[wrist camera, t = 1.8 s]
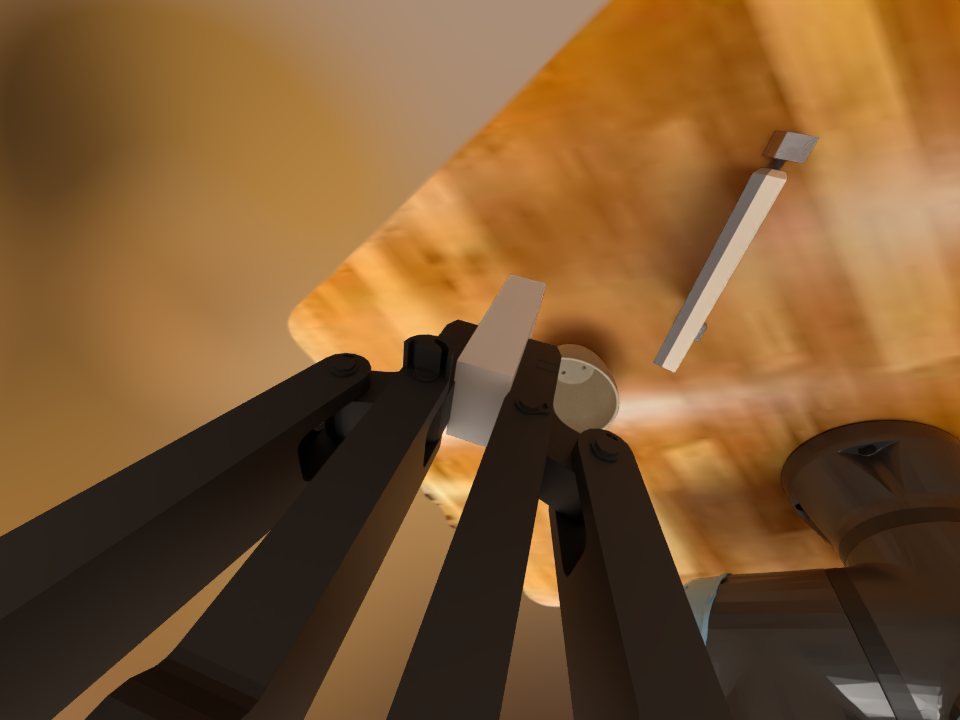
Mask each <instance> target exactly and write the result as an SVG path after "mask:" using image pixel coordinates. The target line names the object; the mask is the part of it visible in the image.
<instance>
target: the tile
mask: <svg viewBox="0 0 960 720" xmlns="http://www.w3.org/2000/svg"><path fill="white" fill-rule="evenodd" d="M786 180H787V176H786V172H784V171H779V170H774V169H769V168H764V167H763V168H761V169H759V170H757V171H755V172H753V174H752V176H751V178H750V179H749V181H748V183H747V185H746V187H745V189H744V191H743V193H742V195H741V197H740V198H739V200H738V202H737V204H736V206H735V208H734V210H733V212H732V214H731V216H730V217H729V219H728V221H727V223H726V225H725V227H724V229H723V231H722V233H721V235H720V236H719V238H718V240H717V242H716V244H715V246H714V248H713V250H712V252H711V254H710V255H709V257H708V259H707V261H706V263H705V265H704V267H703V269H702V271H701V273H700V274H699V276H698V278H697V280H696V282H695V284H694V286H693V288H692V290H691V292H690V293H689V295H688V297H687V299H686V301H685V303H684V305H683V307H682V309H681V310H680V312H679V314H678V316H677V318H676V320H675V322H674V324H673V326H672V328H671V329H670V331H669V333H668V335H667V337H666V339H665V341H664V343H663V345H662V347H661V348H660V350H659V352H658V354H657V356H656V358H655V360H654V362H653V363H655V364H657V365H659V366H661V367H663V368H666V369H668V370H670V371H672V372H674V373H675V372H676V370H677V368H678V367H679V365H680V363H681V361H682V360H683V358H684V356H685V355H686V353H687V351H688V349H689V348H690V346H691V344H692V343H693V341H694V339H695V337H696V336H697V334H698V332H699V330H700V329H701V327H702V325H703V324H704V322H705V320H706V318H707V317H708V315H709V313H710V311H711V310H712V308H713V306H714V305H715V303H716V301H717V299H718V298H719V296H720V294H721V292H722V291H723V289H724V287H725V286H726V284H727V282H728V280H729V279H730V277H731V275H732V274H733V272H734V270H735V268H736V267H737V265H738V263H739V261H740V260H741V258H742V256H743V255H744V253H745V251H746V249H747V248H748V246H749V244H750V242H751V241H752V239H753V237H754V236H755V234H756V232H757V230H758V229H759V227H760V225H761V223H762V222H763V220H764V218H765V217H766V215H767V213H768V211H769V210H770V208H771V206H772V204H773V203H774V201H775V199H776V198H777V196H778V194H779V192H780V191H781V189H782V187H783V186H784V184H785V182H786Z"/></svg>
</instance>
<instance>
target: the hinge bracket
mask: <svg viewBox="0 0 960 720" xmlns="http://www.w3.org/2000/svg"><path fill="white" fill-rule="evenodd" d="M818 139H819V137H815V136H809V135H804V134H799V133H793V132H787V131H775V132H774V134H773V136H772V137H771V139H770V141H769V143H768V145H767V147H766V149H765V151H764V153H763V155H764V156H769V157H773V158H775V159H774V161H773V163H772V165H771V167H770V168H769V169H774V170H779V171H780V170H781V168H782V166H783V164H784V162H785V161H786V160H789V161H794V162H799V163H804V162H805V161H806V159H807V157H808V156H809V154H810V152H811V150H812V149H813V147H814V145H815V144H816V142H817V140H818ZM706 328H707V325H706V323H705V322H704V324H703V325H702V327H701V329H700V330H699V332H698V334H697V336H696V337H695V339H694V340H695V341H699V340H700V339H701V337H702V335H703V333H704V332H705V330H706Z"/></svg>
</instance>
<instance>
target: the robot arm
mask: <svg viewBox="0 0 960 720" xmlns="http://www.w3.org/2000/svg"><path fill="white" fill-rule="evenodd" d="M546 284H547V283H543V282H539V281H535V280H531V279H527V278H524V277H520V276H516V275H512V274H510V275H509V277H508V278H507V280H506V282H505V283H504V285H503V286H502V288H501V290H500V291H499V293H498V295H497V296H496V298H495V299H494V301H493V303H492V304H491V306H490V308H489V309H488V311H487V313H486V314H485V316H484V317H483V319H482V321H481V322H480V324H479V325H475V324H472V323H468V322H465V321H461V320H456V321H454V322H452V323H450V324H447V325H446V327H445V328H444V329H443V331H442V332H441V334H440V335H439V336H433V335H416V336H413V337H410V338H408V339H407V340H406V341H404V357H403V368H402V369H401V370H400V371H399V372H381V371H371V366H370V363H369V361H368V360H366V359H365V358H364V357H362V356H359V355H356V354H350V353H342V354H335V355H332V356H330V357H327V358H325V359H323V360H321V361H319V362H318V363H316V364H314V365H312V366H310V367H308V368H307V369H305V370H303V371H301V372H299V373H298V374H296V375H294V376H292V377H291V378H288V379H287V380H285V381H283V382H281V383H279V384H278V385H276V386H274V387H272V388H270V389H268V390H267V391H265V392H263V393H261V394H259V395H258V396H256V397H254V398H252V399H250V400H248V401H247V402H245V403H243V404H241V405H240V406H238V407H236V408H234V409H232V410H230V411H228V412H227V413H225V414H223V415H221V416H219V417H217V418H216V419H214V420H212V421H210V422H208V423H207V424H205V425H203V426H201V427H199V428H198V429H196V430H194V431H192V432H190V433H188V434H187V435H185V436H183V437H181V438H179V439H177V440H176V441H174V442H172V443H170V444H168V445H167V446H165V447H163V448H161V449H159V450H157V451H156V452H154V453H152V454H150V455H148V456H146V457H145V458H143V459H141V460H139V461H137V462H136V463H134V464H132V465H130V466H129V467H127V468H125V469H123V470H121V471H119V472H118V473H116V474H114V475H112V476H110V477H108V478H107V479H105V480H103V481H101V482H99V483H97V484H96V485H94V486H92V487H90V488H89V489H86V490H85V491H83V492H81V493H79V494H77V495H76V496H74V497H72V498H70V499H68V500H66V501H65V502H63V503H61V504H59V505H58V506H55V507H54V508H52V509H50V510H48V511H46V512H45V513H43V514H41V515H39V516H37V517H35V518H34V519H32V520H30V521H28V522H26V523H25V524H23V525H21V526H19V527H18V528H15V529H14V530H12V531H10V532H8V533H6V534H5V535H3V536H1V537H0V720H51V719H53V718H54V717H55V716H56V715H57V714H58V713H59V712H60V711H62V710H63V709H64V708H65V707H67V706H68V705H69V704H70V703H71V702H72V701H73V700H75V699H76V698H77V697H78V696H79V695H80V694H81V693H83V692H84V691H85V690H86V689H87V688H88V687H90V686H91V685H92V684H93V683H94V682H95V681H97V680H98V679H99V678H100V677H101V676H102V675H103V674H105V673H106V672H107V671H108V670H109V669H110V668H112V667H113V666H114V665H115V664H116V663H117V662H119V661H120V660H121V659H122V658H123V657H124V656H126V655H127V654H128V653H129V652H130V651H131V650H132V649H134V648H135V647H136V646H137V645H138V644H139V643H141V642H142V641H143V640H144V639H145V638H146V637H148V636H149V635H150V634H151V633H152V632H153V631H154V630H156V629H157V628H158V627H159V626H160V625H161V624H162V623H164V622H165V621H166V620H167V619H168V618H170V617H171V615H173V614H174V613H175V612H176V611H178V610H179V609H180V608H181V607H182V606H183V605H185V604H186V603H187V602H188V601H189V600H190V599H191V598H193V597H194V596H195V595H196V594H197V593H198V592H200V591H201V590H202V589H203V588H204V587H205V586H206V585H208V584H209V583H210V582H211V581H212V580H213V579H215V578H216V577H217V576H218V575H219V574H220V573H221V572H223V571H224V570H225V569H226V568H227V567H229V566H230V565H231V564H232V563H233V562H234V561H235V560H237V559H238V558H239V557H240V556H241V555H242V554H243V553H245V552H246V551H247V550H248V549H249V548H251V547H252V546H253V545H254V544H255V543H256V542H257V541H259V540H260V539H261V538H262V537H263V536H264V535H265V534H267V533H268V532H269V531H270V530H271V531H270V532H269V533H268V534H267V536H266V537H265V538H264V539H263V540H262V542H261V543H260V544H259V545H258V547H257V548H256V549H255V550H254V552H253V553H252V554H251V555H250V557H249V558H248V559H247V560H246V561H245V563H244V564H243V565H242V566H241V568H240V569H239V570H238V571H237V573H236V574H235V575H234V577H232V579H231V580H230V581H229V583H228V584H227V585H226V586H225V587H224V589H223V590H222V591H221V592H220V594H219V595H218V596H217V597H216V599H215V600H214V601H213V602H212V603H211V605H210V606H209V607H208V608H207V610H206V611H205V612H204V613H203V615H202V616H201V617H200V618H199V619H198V621H197V622H196V623H195V625H194V626H193V627H192V628H191V629H190V631H189V632H188V633H187V634H186V636H185V637H184V638H183V639H182V641H181V642H180V643H179V644H178V645H177V647H176V648H175V649H174V650H173V651H172V652H171V653H170V654H169V655H168V656H167V657H166V658H165V659H164V660H163V661H161V662H160V663H159V664H158V665H156V666H155V667H153V668H151V669H148V670H146V671H144V672H142V673H140V674H138V675H136V676H134V677H132V678H129V679H128V680H127V681H126V682H124V683H123V684H122V685H121V686H119V687H118V688H117V689H116V690H114V691H113V692H112V693H110V694H109V695H108V696H107V697H106V698H105V699H104V700H103V701H102V702H101V703H100V704H99V705H98V706H97V707H96V708H95V709H94V710H93V711H92V712H91V713H90V714H89V715H88V717H87V718H86V719H85V720H304V718H305V716H306V714H307V712H308V710H309V708H310V706H311V704H312V702H313V700H314V698H315V696H316V693H317V692H318V690H319V688H320V686H321V684H322V682H323V680H324V678H325V676H326V674H327V672H328V670H329V668H330V666H331V664H332V662H333V660H334V658H335V656H336V654H337V652H338V650H339V648H340V646H341V644H342V642H343V640H344V638H345V636H346V634H347V632H348V630H349V628H350V626H351V624H352V622H353V620H354V618H355V616H356V614H357V612H358V610H359V608H360V606H361V603H362V602H363V600H364V598H365V596H366V594H367V591H368V590H369V588H370V586H371V584H372V581H373V580H374V578H375V575H376V574H377V572H378V570H379V568H380V566H381V564H382V562H383V559H384V557H385V556H386V554H387V552H388V550H389V548H390V546H391V544H392V542H393V540H394V538H395V536H396V533H397V532H398V530H399V528H400V525H401V524H402V522H403V520H404V518H405V516H406V514H407V512H408V510H409V508H410V506H411V504H412V502H413V500H414V498H415V496H416V494H417V492H418V490H419V488H420V486H421V484H422V482H423V480H424V478H425V476H426V474H427V472H428V470H429V468H430V466H431V464H432V462H433V460H434V458H435V456H436V454H437V452H438V450H439V448H440V444H441V438H442V433H443V431H444V429H445V427H446V426H447V431H446V434H448V435H451V436H454V437H457V438H460V439H463V440H466V441H469V442H472V443H475V444H478V445H481V446H484V447H486V449H485V452H484V455H483V457H482V460H481V463H480V466H479V468H478V471H477V474H476V477H475V479H474V482H473V485H472V487H471V490H470V493H469V496H468V498H467V501H466V504H465V506H464V509H463V512H462V515H461V517H460V520H459V523H458V526H457V528H456V531H455V534H454V537H453V540H452V542H451V545H450V547H449V550H448V553H447V555H446V558H445V561H444V564H443V566H442V569H441V572H440V575H439V577H438V580H437V583H436V585H435V588H434V591H433V594H432V596H431V599H430V602H429V605H428V607H427V610H426V613H425V615H424V618H423V621H422V624H421V626H420V629H419V632H418V635H417V637H416V640H415V643H414V645H413V648H412V651H411V653H410V656H409V659H408V662H407V665H406V667H405V670H404V673H403V675H402V678H401V681H400V683H399V687H398V689H397V692H396V695H395V697H394V700H393V703H392V706H391V708H390V711H389V713H388V716H387V719H386V720H499V717H500V712H501V707H502V701H503V695H504V690H505V684H506V679H507V673H508V667H509V662H510V656H511V650H512V645H513V640H514V634H515V628H516V623H517V617H518V612H519V606H520V601H521V594H522V589H523V584H524V578H525V573H526V567H527V562H528V556H529V550H530V545H531V539H532V534H533V528H534V523H535V517H536V511H537V506H538V500H539V499H540V500H542V501H543V502H545V503H546V504H548V505H549V517H550V526H551V534H552V542H553V551H554V559H555V567H556V576H557V584H558V592H559V601H560V609H561V617H562V626H563V633H564V641H565V651H566V659H567V667H568V676H569V684H570V692H571V701H572V709H573V717H574V720H960V440H959V439H957V438H956V437H954V436H953V435H951V434H949V433H947V432H945V431H943V430H940V429H938V428H935V427H932V426H928V425H924V424H919V423H913V422H905V421H873V422H864V423H858V424H853V425H848V426H844V427H840V428H837V429H834V430H831V431H828V432H826V433H823V434H821V435H819V436H817V437H815V438H813V439H811V440H809V441H808V442H806V443H805V444H803V445H802V446H801V447H799V448H798V449H797V450H796V451H795V452H794V453H793V454H792V455H791V456H790V457H789V459H788V460H787V461H786V463H785V465H784V467H783V470H782V475H781V482H782V486H783V489H784V491H785V493H786V495H787V497H788V499H789V501H790V503H791V505H792V507H793V508H794V510H795V511H796V512H797V513H798V515H799V516H800V517H801V518H802V519H804V520H805V521H806V522H807V524H808V525H809V526H810V527H811V528H812V529H813V530H814V531H815V532H817V533H818V534H819V535H820V536H821V537H822V538H823V539H824V540H825V541H826V542H827V543H828V544H829V545H830V546H831V547H832V548H833V549H834V550H835V551H836V552H837V553H838V555H839V556H840V558H841V560H842V562H843V564H844V566H845V567H843V568H830V569H811V570H797V571H784V572H770V573H754V574H735V575H733V574H731V573H724V574H722V575H720V576H716V577H709V578H700V579H694V580H691V581H689V582H687V583H686V584H685V585H684V586H683V585H682V582H681V580H680V577H679V574H678V572H677V569H676V566H675V564H674V561H673V558H672V556H671V553H670V550H669V548H668V545H667V542H666V540H665V537H664V534H663V532H662V529H661V526H660V524H659V521H658V518H657V516H656V513H655V510H654V508H653V505H652V503H651V500H650V497H649V495H648V492H647V489H646V487H645V484H644V481H643V479H642V476H641V473H640V471H639V468H638V465H637V463H636V460H635V457H634V455H633V452H632V451H631V449H630V447H629V446H628V444H627V443H626V442H625V441H624V440H622V439H621V438H620V437H619V436H617V435H615V434H613V433H612V432H610V431H607V430H603V429H599V428H597V429H588V430H585V431H583V432H582V433H579V432H577V431H575V430H574V429H572V428H570V427H569V426H567V425H566V424H564V423H563V422H562V421H561V420H560V419H559V417H558V416H557V414H556V413H555V410H554V407H553V402H554V396H555V391H556V385H557V380H558V374H559V369H560V364H561V358H562V356H561V354H560V351H559V349H558V347H557V346H553V345H550V344H546V343H543V342H539V341H536V340H532V339H531V338H532V334H533V331H534V327H535V324H536V320H537V317H538V313H539V309H540V306H541V302H542V299H543V295H544V291H545V288H546ZM322 422H323V423H322ZM447 424H448V425H447Z"/></svg>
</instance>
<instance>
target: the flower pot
mask: <svg viewBox="0 0 960 720" xmlns="http://www.w3.org/2000/svg"><path fill="white" fill-rule="evenodd" d="M557 347H558V349H559V351H560V354H561V356H562V358H561V364H560V369H559V374H558V380H557V385H556V391H555V396H554V402H553V407H554V410H555V413H556V414H557V416H558V417H559V419H560V420H561V421H562V422H563V423H564V424H566V425H567V426H569V427H570V428H572V429H574V430H575V431H577V432H579V433H582V432H583V431H585V430H588V429H597V428H599V429H603V430H605V429H606V428H607V427H608V426H610V425H611V423H612V422H613V421H614V419H615V418H616V415H617V413H618V410H619V395H618V390H617V387H616V384H615V381H614V379H613V376H612V374H611V372H610V371H609V369H608V367H607V366H606V365H605V363H604V362H603V361H602V360H601V359H600V358H599V357H598V356H597V355H596V354H595V353H594V352H592V351H591V350H589V349H587V348H585V347H583V346H580V345H576V344H563V345H559V346H557ZM583 366H585V367H583ZM564 372H565V374H564Z"/></svg>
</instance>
